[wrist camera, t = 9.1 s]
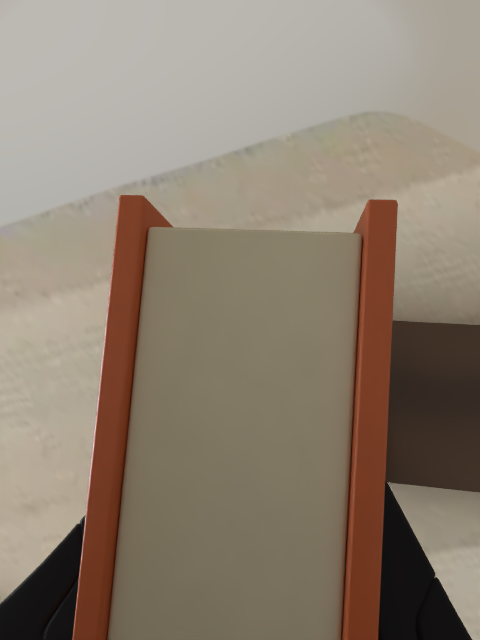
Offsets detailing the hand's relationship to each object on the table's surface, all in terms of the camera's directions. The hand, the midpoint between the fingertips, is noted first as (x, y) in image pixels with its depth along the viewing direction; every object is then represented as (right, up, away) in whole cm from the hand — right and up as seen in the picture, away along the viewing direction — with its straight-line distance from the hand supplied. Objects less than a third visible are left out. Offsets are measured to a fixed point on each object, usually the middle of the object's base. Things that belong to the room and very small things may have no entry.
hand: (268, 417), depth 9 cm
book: (+1, -1, +4) cm, 5 cm away
